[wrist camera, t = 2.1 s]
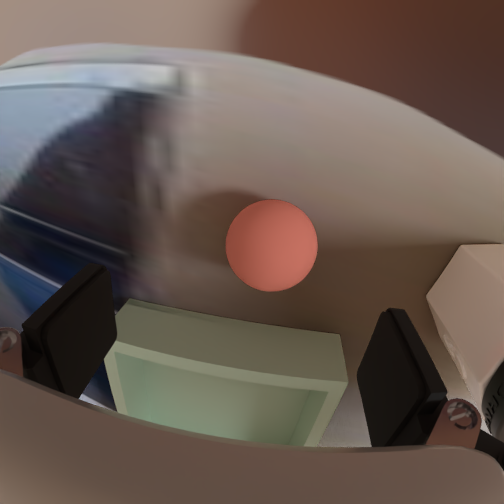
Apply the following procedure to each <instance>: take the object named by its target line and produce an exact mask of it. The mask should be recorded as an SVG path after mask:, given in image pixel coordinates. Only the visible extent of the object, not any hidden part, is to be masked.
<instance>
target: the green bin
mask: <svg viewBox="0 0 504 504" xmlns="http://www.w3.org/2000/svg"><path fill="white" fill-rule="evenodd" d="M115 320H116V327H117V339H116V341H115V343H114V344H113V346H112V347H111V349H110V350H109V352H108V353H107V355H106V356H105V358H104V362H105V366H106V370H107V375H108V379H109V383H110V386H111V390H112V394H113V398H114V401H115V405H116V408H117V412H118V413H121V414H124V415H127V416H131V417H134V418H138V419H142V420H145V421H149V422H153V423H157V424H161V425H165V426H169V427H173V428H178V429H182V430H187V431H192V432H197V433H202V434H207V435H213V436H218V437H224V438H231V439H238V440H245V441H253V442H261V443H271V444H281V445H293V446H310V447H316V446H317V445H318V443H319V441H320V439H321V437H322V435H323V433H324V432H325V430H326V428H327V426H328V424H329V422H330V420H331V418H332V416H333V414H334V412H335V410H336V408H337V406H338V404H339V402H340V400H341V397H342V395H343V393H344V391H345V389H346V387H347V385H348V376H347V370H346V365H345V359H344V354H343V349H342V344H341V339H340V334H333V333H325V332H317V331H309V330H302V329H294V328H287V327H280V326H274V325H267V324H261V323H254V322H248V321H242V320H236V319H231V318H225V317H219V316H214V315H208V314H203V313H198V312H192V311H187V310H182V309H177V308H172V307H168V306H163V305H158V304H153V303H149V302H144V301H140V300H135V299H131V298H129V300H128V301H127V302H126V303H125V305H124V306H123V307H122V308H121V309H120V311H119V312H118V313H117V314H116V315H115Z"/></svg>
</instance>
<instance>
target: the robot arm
mask: <svg viewBox="0 0 504 504" xmlns="http://www.w3.org/2000/svg"><path fill="white" fill-rule="evenodd" d="M22 328H23V332H22V333H21V334H20V333H19V332H18V331H17V330H16V329H14V328H10V327H2V328H0V504H504V443H503V442H502V441H500V440H498V439H497V438H495V437H493V436H491V435H490V434H488V433H486V432H485V431H483V430H481V429H480V428H481V423H482V419H481V415H480V413H479V411H478V409H477V408H476V407H475V406H474V405H473V404H471V403H470V402H468V401H466V400H464V399H459V398H454V399H450V400H449V401H448V399H447V397H446V394H447V389H446V387H445V385H444V383H443V381H442V379H441V377H440V375H439V373H438V371H437V369H436V367H435V365H434V363H433V361H432V359H431V357H430V355H429V353H428V352H427V350H426V348H425V346H424V344H423V342H422V340H421V338H420V337H419V335H418V333H417V331H416V329H415V328H414V326H413V324H412V322H411V320H410V319H409V317H408V315H407V313H406V312H405V310H403V309H395V308H388V309H387V310H386V312H382V313H381V315H380V317H379V320H378V322H377V325H376V327H375V330H374V332H373V335H372V337H371V340H370V342H369V345H368V347H367V350H366V352H365V354H364V357H363V359H362V361H361V364H360V366H359V368H358V371H357V381H358V385H359V389H360V394H361V398H362V403H363V407H364V412H365V416H366V421H367V426H368V430H369V435H370V440H371V445H372V447H310V446H293V445H281V444H271V443H261V442H253V441H245V440H238V439H231V438H224V437H218V436H213V435H207V434H202V433H197V432H192V431H187V430H182V429H178V428H173V427H169V426H165V425H161V424H157V423H153V422H149V421H145V420H142V419H138V418H134V417H131V416H127V415H124V414H121V413H118V412H114V411H111V410H108V409H105V408H102V407H99V406H96V405H93V404H90V403H88V402H85V401H82V400H79V397H80V396H81V394H82V393H83V391H84V389H85V388H86V386H87V385H88V383H89V381H90V380H91V378H92V377H93V375H94V374H95V372H96V370H97V369H98V367H99V366H100V364H101V363H102V361H103V360H104V358H105V356H106V355H107V353H108V352H109V350H110V349H111V347H112V346H113V344H114V343H115V341H116V339H117V327H116V320H115V312H114V304H113V295H112V286H111V276H110V272H109V271H108V270H107V269H106V267H105V266H104V265H99V264H93V263H89V264H88V265H86V266H85V267H84V268H83V269H82V270H81V271H79V272H78V273H77V274H76V275H75V276H74V277H72V278H71V279H70V280H69V281H68V282H67V283H66V284H65V285H63V286H62V287H61V288H60V289H59V290H58V291H57V292H56V293H55V294H54V295H52V296H51V297H50V298H49V299H48V300H47V301H46V302H45V303H44V304H43V305H42V306H41V307H40V308H38V309H37V310H36V311H35V312H34V313H33V314H32V315H31V316H30V317H29V318H28V319H27V320H26V321H25V322H24V323H23V324H22Z"/></svg>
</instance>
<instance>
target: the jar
mask: <svg viewBox="0 0 504 504" xmlns="http://www.w3.org/2000/svg"><path fill="white" fill-rule="evenodd" d="M426 299H427V302H428V304H429V307H430V310H431V313H432V315H433V318H434V321H435V324H436V327H437V330H438V333H439V336H440V338H441V340H442V341H443V343H444V345H445V347H446V348H447V350H448V352H449V354H450V356H451V357H452V359H453V361H454V363H455V365H456V367H457V369H458V371H459V373H460V375H461V376H462V378H463V380H464V382H465V384H466V386H467V388H468V390H469V392H470V394H471V396H472V398H473V400H474V402H475V404H476V406H477V408H478V410H479V412H480V415H481V417H482V419H483V420H485V423H486V425H487V427H488V429H489V432H490V434H492V436H493V437H495V438H497V439H498V440H500V441H502V442H503V443H504V244H474V245H461V246H460V247H459V248H458V250H457V251H456V253H455V254H454V256H453V257H452V259H451V260H450V262H449V263H448V265H447V266H446V268H445V269H444V271H443V272H442V274H441V275H440V277H439V278H438V280H437V281H436V282H435V284H434V285H433V287H432V288H431V289H430V291H429V292H428V293H427V295H426Z"/></svg>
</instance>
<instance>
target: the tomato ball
mask: <svg viewBox="0 0 504 504" xmlns="http://www.w3.org/2000/svg"><path fill="white" fill-rule="evenodd" d="M317 250H318V242H317V235H316V232H315V229H314V227H313V224H312V223H311V221H310V219H309V218H308V217H307V216H306V214H305V213H304V212H303V211H301V210H300V209H299V208H297V207H296V206H294V205H292V204H290V203H288V202H285V201H281V200H274V199H271V200H262V201H258V202H255V203H253V204H251V205H249V206H247V207H246V208H244V209H243V210H242V211H241V212H240V213H239V214H238V215H237V216H236V217H235V218H234V220H233V221H232V223H231V225H230V227H229V230H228V233H227V237H226V254H227V258H228V261H229V264H230V266H231V268H232V270H233V271H234V273H235V274H236V275H237V276H238V277H239V278H240V279H241V280H242V281H243V282H244V283H246V284H247V285H249V286H251V287H253V288H255V289H258V290H262V291H269V292H272V291H281V290H285V289H288V288H290V287H292V286H294V285H296V284H298V283H299V282H300V281H302V280H303V279H304V278H305V277H306V275H307V274H308V273H309V272H310V270H311V268H312V267H313V264H314V262H315V259H316V256H317Z"/></svg>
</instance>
